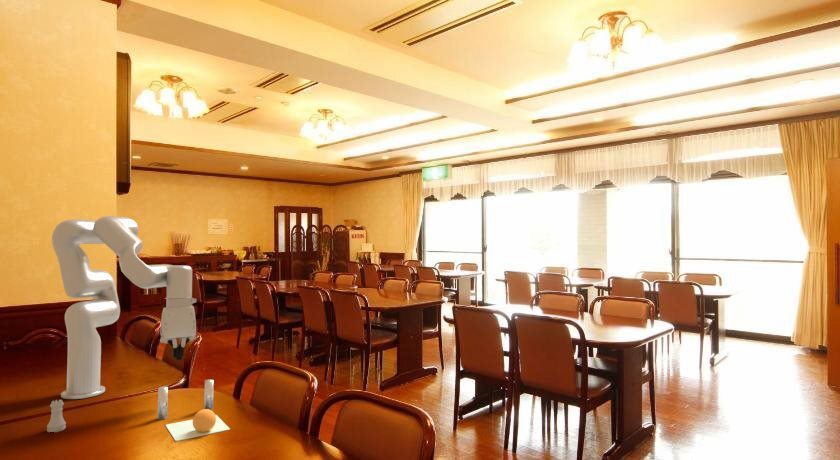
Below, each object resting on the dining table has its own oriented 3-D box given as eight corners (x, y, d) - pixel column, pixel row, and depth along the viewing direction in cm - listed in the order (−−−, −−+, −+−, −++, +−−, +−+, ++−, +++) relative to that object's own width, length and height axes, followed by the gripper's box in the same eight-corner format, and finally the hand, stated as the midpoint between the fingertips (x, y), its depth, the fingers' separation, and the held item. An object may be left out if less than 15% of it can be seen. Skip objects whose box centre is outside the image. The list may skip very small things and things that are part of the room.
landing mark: (165, 425, 142) (165, 424, 142) (216, 415, 150) (216, 414, 150) (175, 441, 131) (175, 440, 131) (230, 429, 139) (230, 428, 139)
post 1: (156, 417, 148) (157, 387, 148) (166, 415, 149) (167, 385, 150) (158, 420, 146) (159, 389, 146) (168, 418, 147) (168, 388, 148)
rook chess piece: (55, 433, 135) (56, 404, 135) (42, 432, 136) (42, 403, 136) (70, 427, 140) (70, 399, 140) (57, 426, 140) (57, 398, 141)
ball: (195, 438, 134) (189, 429, 138) (218, 432, 137) (212, 424, 142) (196, 416, 133) (190, 408, 138) (219, 411, 137) (212, 403, 142)
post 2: (203, 409, 156) (203, 380, 156) (211, 407, 157) (212, 378, 158) (205, 411, 154) (205, 382, 154) (214, 409, 155) (214, 380, 155)
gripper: (200, 300, 170) (199, 354, 170) (151, 303, 161) (150, 360, 161) (206, 302, 164) (205, 358, 164) (155, 306, 155) (154, 364, 155)
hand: (178, 359), depth 162 cm, fingers closed
